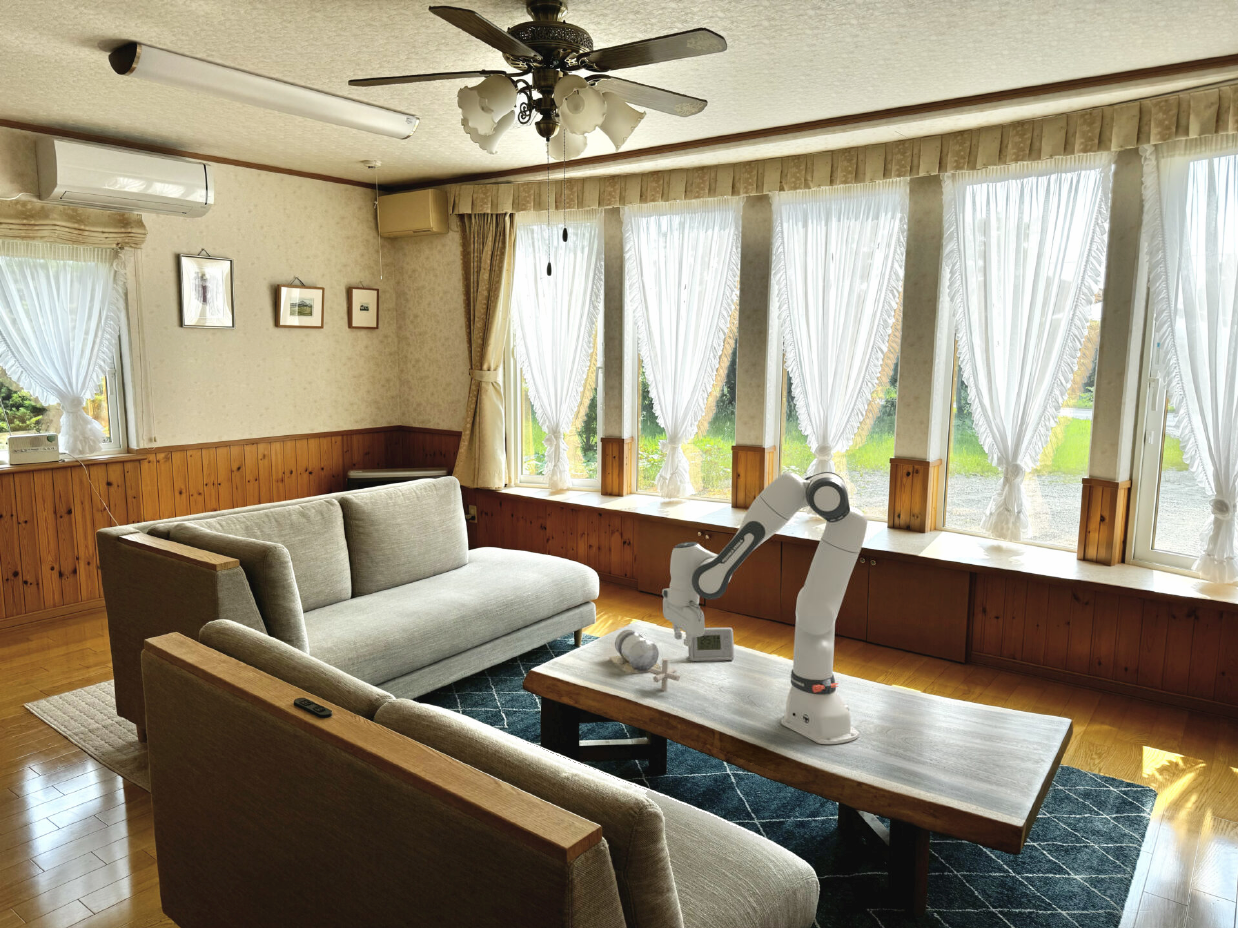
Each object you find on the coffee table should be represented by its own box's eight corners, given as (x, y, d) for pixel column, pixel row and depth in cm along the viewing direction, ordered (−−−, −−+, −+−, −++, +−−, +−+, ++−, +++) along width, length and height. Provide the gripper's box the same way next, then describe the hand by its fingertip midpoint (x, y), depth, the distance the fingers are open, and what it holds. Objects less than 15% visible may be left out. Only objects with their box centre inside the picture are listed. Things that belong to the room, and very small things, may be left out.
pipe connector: (668, 699, 253) (669, 667, 252) (641, 690, 259) (642, 659, 258) (686, 689, 261) (687, 658, 260) (660, 681, 267) (661, 650, 266)
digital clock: (687, 662, 284) (688, 632, 283) (686, 653, 293) (687, 623, 292) (735, 664, 284) (736, 634, 282) (732, 655, 292) (734, 625, 291)
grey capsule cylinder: (661, 669, 277) (662, 638, 275) (625, 674, 272) (626, 643, 270) (643, 655, 290) (644, 625, 288) (609, 659, 285) (609, 629, 283)
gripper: (710, 605, 238) (709, 652, 240) (678, 586, 256) (676, 630, 258) (691, 607, 235) (689, 654, 237) (659, 588, 254) (658, 632, 256)
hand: (682, 641), depth 248 cm, fingers open, 5 cm apart
